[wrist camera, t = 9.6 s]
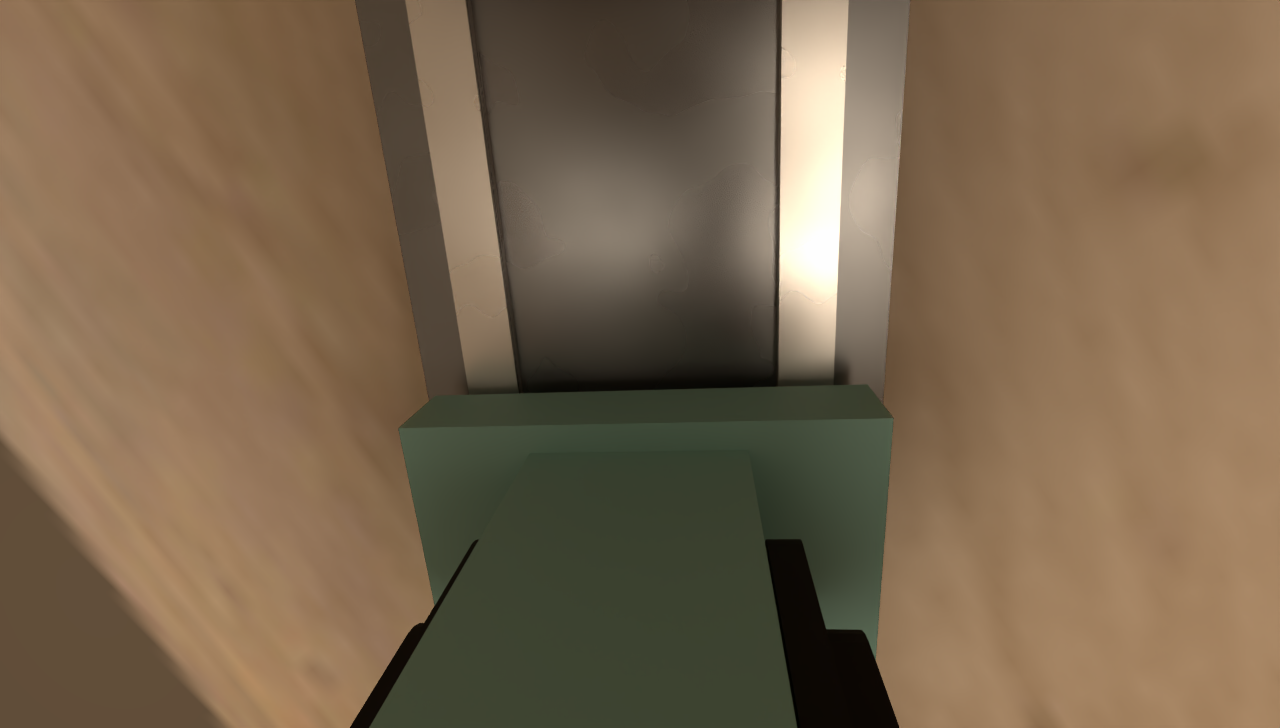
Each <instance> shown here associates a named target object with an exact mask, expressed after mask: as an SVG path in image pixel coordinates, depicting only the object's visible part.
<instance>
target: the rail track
mask: <svg viewBox="0 0 1280 728" xmlns="http://www.w3.org/2000/svg"><path fill="white" fill-rule="evenodd" d="M355 2H356V8H357V13H358V19H359V24H360V29H361V35H362V40H363V46H364V51H365V56H366V62H367V67H368V73H369V78H370V83H371V89H372V94H373V100H374V105H375V110H376V116H377V121H378V127H379V132H380V137H381V143H382V148H383V154H384V159H385V164H386V170H387V175H388V181H389V186H390V192H391V197H392V202H393V208H394V213H395V219H396V224H397V229H398V235H399V240H400V246H401V251H402V256H403V262H404V267H405V273H406V278H407V283H408V289H409V294H410V300H411V305H412V310H413V316H414V321H415V327H416V332H417V337H418V343H419V348H420V354H421V359H422V364H423V370H424V375H425V381H426V386H427V392H428V397H429V401H430V400H431V399H432V398H433V397H434V396H442V395H480V394H518V393H556V392H595V391H633V390H671V389H709V388H747V387H785V386H823V385H861V384H868V386H869V387H870V388H871V390H872V391H873V392H874V393H875V395H876V396H877V397H878V399H879V400H880V401H881V403H882V404H883V396H884V381H885V366H886V352H887V337H888V322H889V307H890V292H891V278H892V263H893V248H894V233H895V219H896V204H897V189H898V174H899V160H900V145H901V130H902V115H903V100H904V86H905V71H906V56H907V41H908V27H909V12H910V0H355Z"/></svg>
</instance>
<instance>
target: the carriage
mask: <svg viewBox="0 0 1280 728" xmlns="http://www.w3.org/2000/svg"><path fill="white" fill-rule="evenodd" d="M893 419H894V418H893V417H892V416H891V414H890V413H889V412H888V410H887V409H886V408H885V406H884V405H883V404H882V403H881V401H880V400H879V399H878V397H877V396H876V395H875V393H874V392H873V391H872V390H871V388H870V387H869V386H868V384H861V385H823V386H785V387H747V388H709V389H671V390H633V391H595V392H556V393H518V394H480V395H442V396H434V397H433V398H432V399H431V400H430V401H429V402H428V403H426V404H425V405H424V406H423V407H422V408H421V409H420V410H419V411H417V412H416V413H415V414H414V415H413V416H412V417H411V418H409V419H408V420H407V421H406V422H405V423H404V424H403V425H401V426H400V427H399V428H398V429H399V434H400V439H401V444H402V449H403V454H404V459H405V463H406V468H407V473H408V478H409V483H410V488H411V493H412V497H413V502H414V507H415V512H416V517H417V522H418V527H419V532H420V536H421V541H422V546H423V551H424V556H425V561H426V566H427V571H428V575H429V580H430V585H431V590H432V595H433V600H434V605H436V603H437V601H438V599H439V598H440V596H441V594H442V593H443V591H444V589H445V588H446V586H447V584H448V583H449V581H450V579H451V578H452V576H453V574H454V573H455V571H456V569H457V568H458V566H459V564H460V563H461V561H462V559H463V558H464V556H465V554H466V553H467V551H468V549H469V548H470V546H471V544H472V543H473V542H474V541H475V540H477V539H479V541H478V542H477V544H476V546H475V547H474V549H473V551H472V553H471V554H470V556H469V558H468V559H467V561H466V563H465V565H464V566H463V568H462V570H461V571H460V573H459V575H458V577H457V578H456V580H455V582H454V583H453V585H452V587H451V589H450V590H449V592H448V594H447V595H446V597H445V599H444V601H443V602H442V604H441V606H440V607H439V609H438V611H437V613H436V614H435V616H434V618H433V619H432V621H431V623H430V625H429V626H428V628H427V630H426V631H425V633H424V635H423V637H422V638H421V640H420V642H419V643H418V645H417V647H416V649H415V650H414V652H413V654H412V655H411V657H410V659H409V661H408V662H407V664H406V666H405V667H404V669H403V671H402V673H401V674H400V676H399V678H398V679H397V681H396V683H395V684H394V686H393V688H392V690H391V691H390V693H389V695H388V696H387V698H386V700H385V702H384V703H383V705H382V707H381V708H380V710H379V712H378V714H377V715H376V717H375V719H374V720H373V722H372V724H371V726H370V727H369V728H797V724H796V718H795V713H794V707H793V701H792V695H791V690H790V684H789V678H788V673H787V667H786V661H785V655H784V650H783V644H782V638H781V633H780V627H779V621H778V615H777V610H776V604H775V598H774V592H773V587H772V581H771V575H770V570H769V564H768V558H767V552H766V547H765V540H766V539H801V540H802V543H803V546H804V550H805V553H806V557H807V561H808V564H809V568H810V572H811V575H812V579H813V583H814V586H815V590H816V594H817V597H818V601H819V605H820V608H821V612H822V616H823V619H824V623H825V627H826V629H848V630H862V631H863V632H864V633H865V634H866V637H867V639H868V641H869V644H870V646H871V649H872V652H873V655H874V658H875V661H876V648H877V634H878V621H879V607H880V594H881V580H882V567H883V553H884V540H885V526H886V513H887V499H888V486H889V472H890V459H891V445H892V432H893Z"/></svg>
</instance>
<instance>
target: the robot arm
mask: <svg viewBox="0 0 1280 728" xmlns="http://www.w3.org/2000/svg"><path fill="white" fill-rule="evenodd" d="M478 541H479V539H477V540H475V541H474V542H473V543H472V544H471V546H470V548H469V549H468V551H467V553H466V554H465V556H464V558H463V559H462V561H461V563H460V564H459V566H458V568H457V569H456V571H455V573H454V574H453V576H452V578H451V579H450V581H449V583H448V584H447V586H446V588H445V589H444V591H443V593H442V594H441V596H440V598H439V599H438V601H437V603H436V605H435V606H434V608H433V610H432V611H431V613H430V615H429V616H428V618H427V620H426V621H425V623H419V624H417V625H416V626H414V627H413V628H412V629H411V631H410V632H409V633H408V634H407V636H406V638H405V639H404V641H403V642H402V644H401V646H400V647H399V649H398V651H397V652H396V654H395V655H394V657H393V659H392V660H391V662H390V663H389V665H388V667H387V668H386V670H385V672H384V673H383V675H382V676H381V678H380V680H379V681H378V683H377V685H376V686H375V688H374V689H373V691H372V693H371V694H370V696H369V697H368V699H367V701H366V702H365V704H364V706H363V707H362V709H361V710H360V712H359V714H358V715H357V717H356V718H355V720H354V722H353V723H352V725H351V727H350V728H369V727H370V726H371V724H372V722H373V720H374V719H375V717H376V715H377V714H378V712H379V710H380V708H381V707H382V705H383V703H384V702H385V700H386V698H387V696H388V695H389V693H390V691H391V690H392V688H393V686H394V684H395V683H396V681H397V679H398V678H399V676H400V674H401V673H402V671H403V669H404V667H405V666H406V664H407V662H408V661H409V659H410V657H411V655H412V654H413V652H414V650H415V649H416V647H417V645H418V643H419V642H420V640H421V638H422V637H423V635H424V633H425V631H426V630H427V628H428V626H429V625H430V623H431V621H432V619H433V618H434V616H435V614H436V613H437V611H438V609H439V607H440V606H441V604H442V602H443V601H444V599H445V597H446V595H447V594H448V592H449V590H450V589H451V587H452V585H453V583H454V582H455V580H456V578H457V577H458V575H459V573H460V571H461V570H462V568H463V566H464V565H465V563H466V561H467V559H468V558H469V556H470V554H471V553H472V551H473V549H474V547H475V546H476V544H477V542H478ZM765 547H766V552H767V558H768V564H769V570H770V575H771V581H772V587H773V592H774V598H775V604H776V610H777V615H778V621H779V627H780V633H781V638H782V644H783V650H784V655H785V661H786V667H787V673H788V678H789V684H790V690H791V695H792V701H793V707H794V713H795V718H796V724H797V728H899V725H898V722H897V720H896V717H895V714H894V711H893V708H892V706H891V703H890V700H889V697H888V694H887V691H886V689H885V686H884V683H883V680H882V677H881V675H880V672H879V669H878V666H877V663H876V661H875V658H874V655H873V652H872V649H871V646H870V644H869V641H868V639H867V637H866V634H865V633H864V632H863V631H862V630H848V629H826V627H825V623H824V619H823V616H822V612H821V608H820V605H819V601H818V597H817V594H816V590H815V586H814V583H813V579H812V575H811V572H810V568H809V564H808V561H807V557H806V553H805V550H804V546H803V543H802V540H801V539H766V540H765Z"/></svg>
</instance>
